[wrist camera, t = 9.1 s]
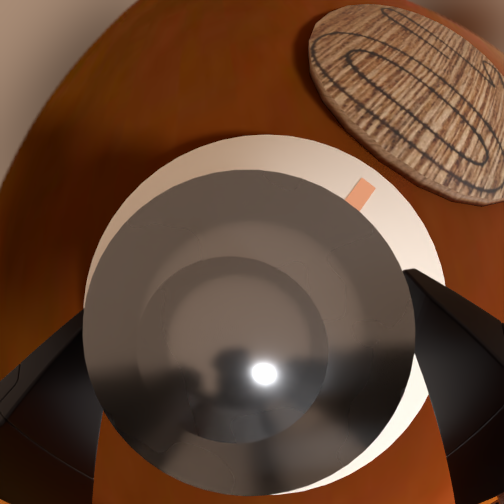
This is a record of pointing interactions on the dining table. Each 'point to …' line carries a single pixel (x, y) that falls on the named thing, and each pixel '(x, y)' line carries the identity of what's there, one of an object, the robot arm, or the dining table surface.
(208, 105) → the dining table surface
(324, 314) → the grey metal cylinder
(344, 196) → the turntable
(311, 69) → the trivet
